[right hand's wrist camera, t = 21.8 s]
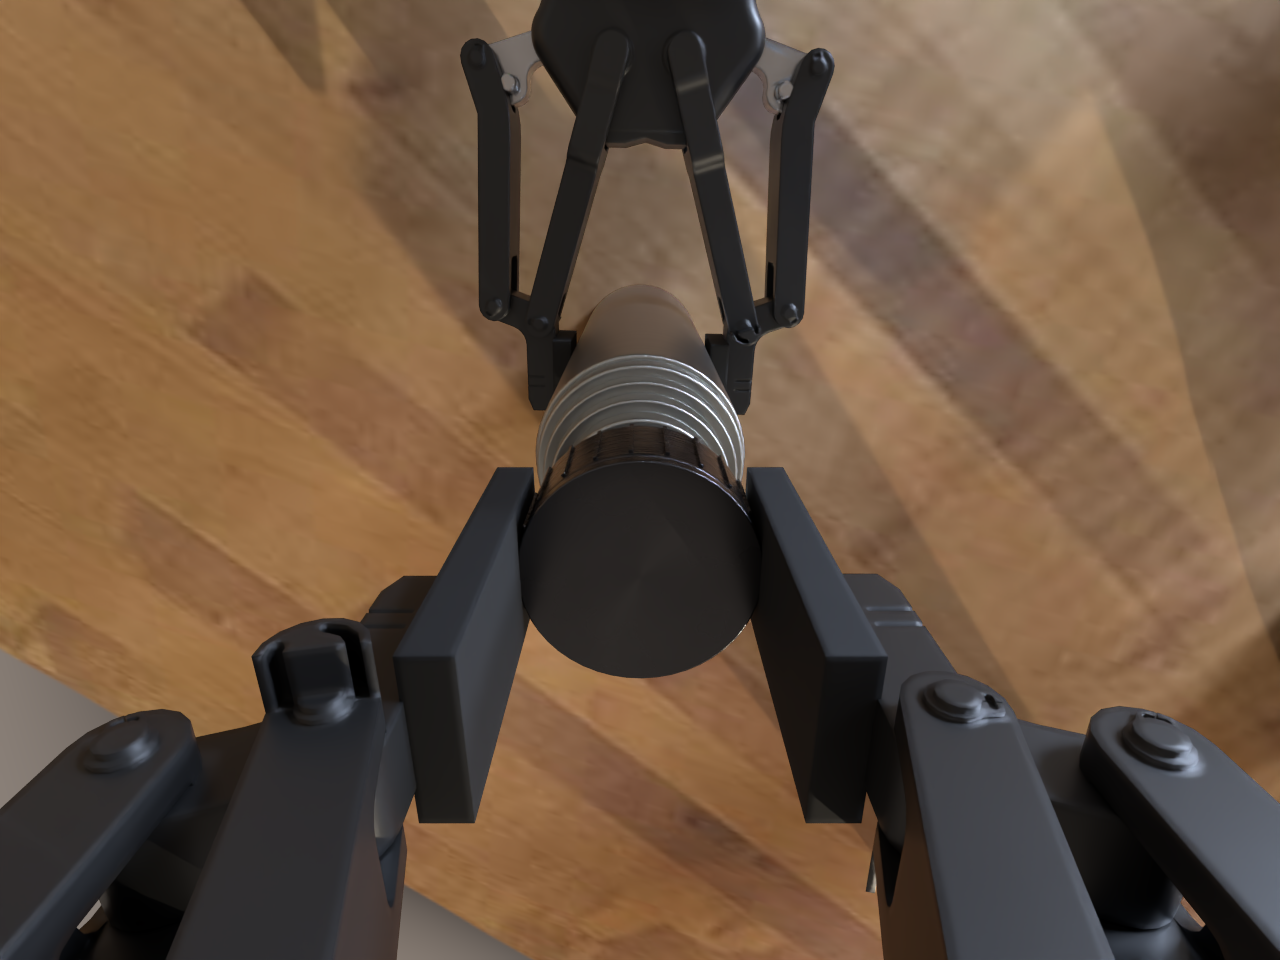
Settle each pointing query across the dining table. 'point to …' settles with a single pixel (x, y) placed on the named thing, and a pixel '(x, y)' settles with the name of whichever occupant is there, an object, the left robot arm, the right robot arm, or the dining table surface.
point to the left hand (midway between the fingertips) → (637, 477)
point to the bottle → (640, 380)
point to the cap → (640, 553)
